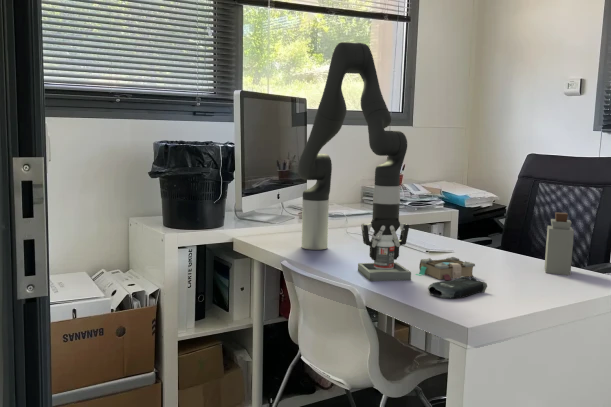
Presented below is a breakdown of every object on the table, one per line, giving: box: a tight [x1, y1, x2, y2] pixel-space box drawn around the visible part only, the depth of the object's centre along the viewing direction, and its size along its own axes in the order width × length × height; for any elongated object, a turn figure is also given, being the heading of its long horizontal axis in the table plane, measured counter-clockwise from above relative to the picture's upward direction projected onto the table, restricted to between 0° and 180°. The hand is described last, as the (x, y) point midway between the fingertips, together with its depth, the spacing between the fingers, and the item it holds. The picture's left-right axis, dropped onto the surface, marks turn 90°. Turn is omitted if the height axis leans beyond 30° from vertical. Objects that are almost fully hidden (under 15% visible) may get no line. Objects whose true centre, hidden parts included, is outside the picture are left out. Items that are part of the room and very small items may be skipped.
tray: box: [357, 261, 412, 282], centre depth 166 cm, size 12×12×2 cm
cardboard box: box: [414, 256, 476, 281], centre depth 167 cm, size 20×12×5 cm, turn 113°
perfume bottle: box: [544, 211, 575, 276], centre depth 174 cm, size 7×7×18 cm
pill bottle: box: [373, 235, 395, 270], centre depth 165 cm, size 6×6×10 cm
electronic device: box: [427, 276, 488, 300], centre depth 149 cm, size 9×6×15 cm
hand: (383, 259), depth 165 cm, fingers closed on pill bottle, 5 cm apart
